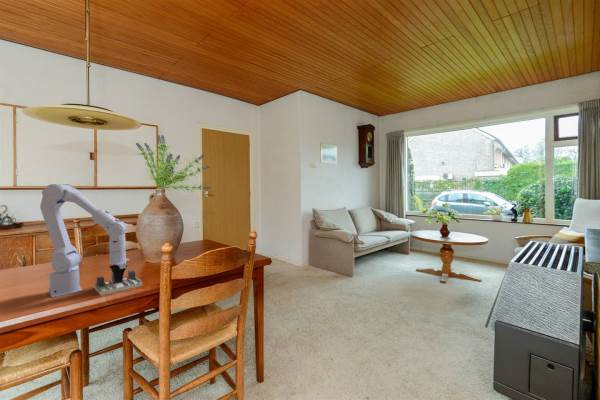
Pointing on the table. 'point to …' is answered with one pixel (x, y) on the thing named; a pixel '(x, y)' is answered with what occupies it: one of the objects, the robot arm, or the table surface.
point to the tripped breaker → (113, 279)
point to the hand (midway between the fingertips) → (118, 281)
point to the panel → (117, 284)
